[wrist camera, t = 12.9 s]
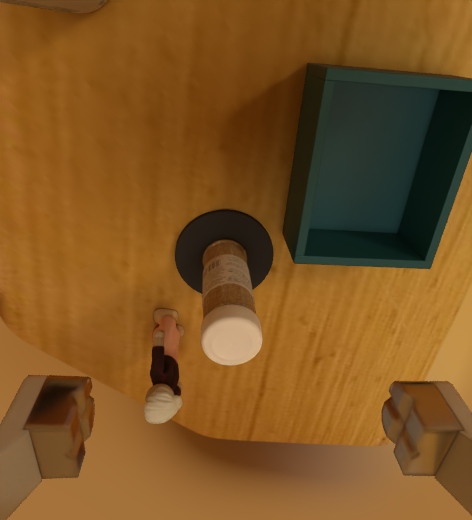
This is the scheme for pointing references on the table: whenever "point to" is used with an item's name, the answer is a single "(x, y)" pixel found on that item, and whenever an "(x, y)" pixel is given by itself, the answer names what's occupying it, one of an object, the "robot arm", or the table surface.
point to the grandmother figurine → (164, 369)
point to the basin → (376, 165)
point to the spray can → (62, 5)
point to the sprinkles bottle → (228, 306)
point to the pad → (219, 228)
